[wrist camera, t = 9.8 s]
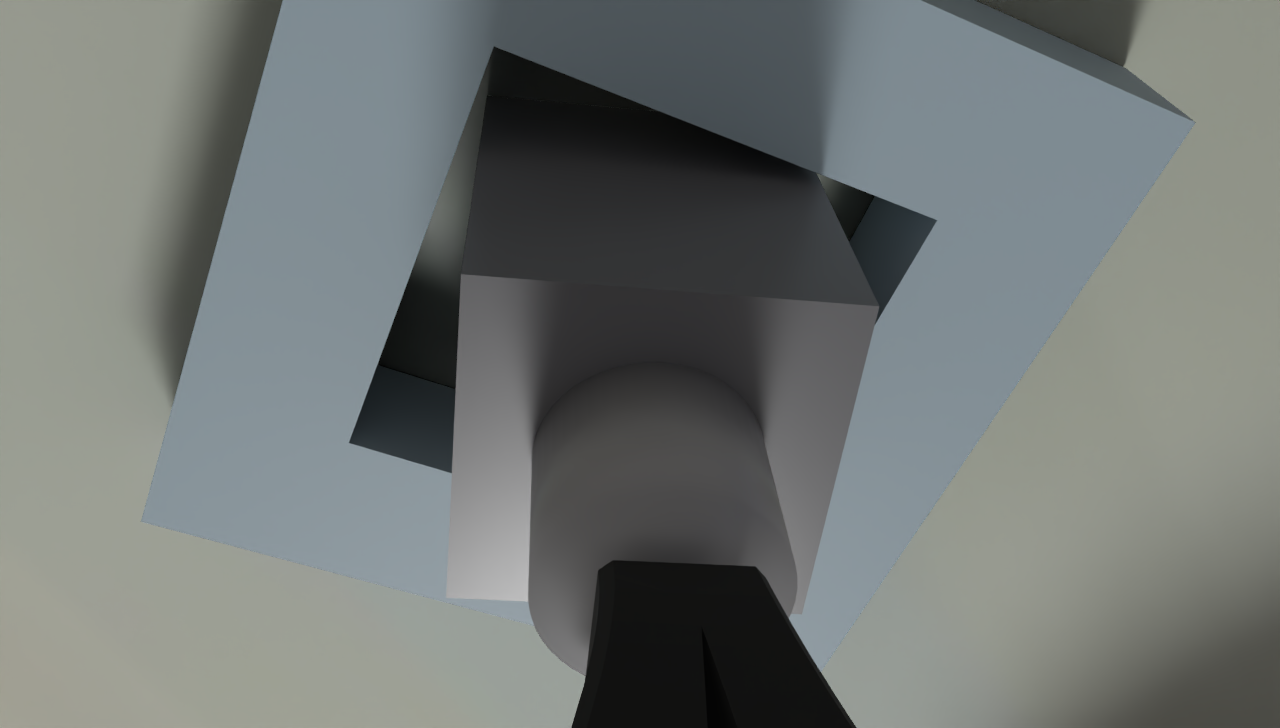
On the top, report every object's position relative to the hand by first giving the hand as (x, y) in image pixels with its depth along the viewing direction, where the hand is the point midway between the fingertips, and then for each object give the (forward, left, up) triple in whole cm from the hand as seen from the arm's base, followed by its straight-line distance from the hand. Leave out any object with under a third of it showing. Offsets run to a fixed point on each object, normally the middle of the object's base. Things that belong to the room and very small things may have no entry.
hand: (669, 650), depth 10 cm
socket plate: (0, 0, -7) cm, 7 cm away
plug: (0, 0, -8) cm, 8 cm away
